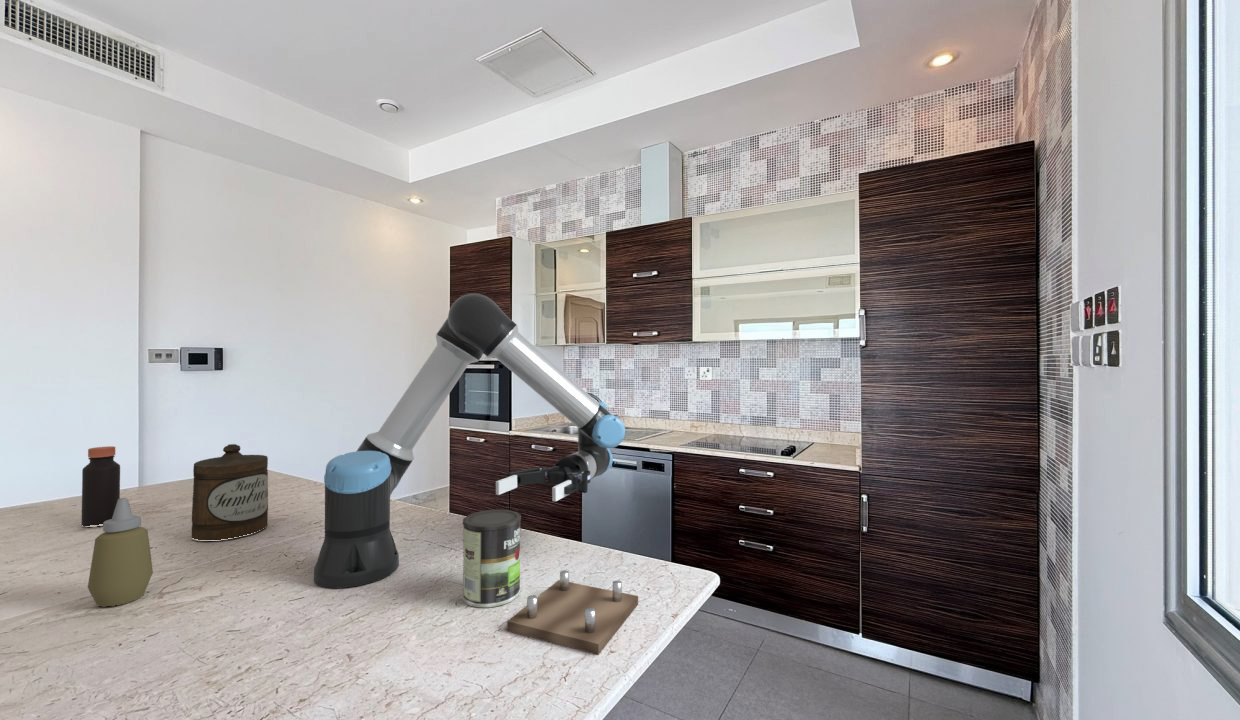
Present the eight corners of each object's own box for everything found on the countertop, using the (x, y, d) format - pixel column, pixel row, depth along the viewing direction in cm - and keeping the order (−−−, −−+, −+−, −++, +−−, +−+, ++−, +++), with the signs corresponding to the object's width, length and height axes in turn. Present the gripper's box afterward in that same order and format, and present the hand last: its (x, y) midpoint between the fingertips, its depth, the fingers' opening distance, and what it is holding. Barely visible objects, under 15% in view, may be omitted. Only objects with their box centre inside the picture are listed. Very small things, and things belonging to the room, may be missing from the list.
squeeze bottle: (163, 593, 88) (164, 495, 89) (104, 615, 81) (105, 507, 81) (136, 587, 91) (137, 491, 91) (76, 607, 83) (78, 502, 84)
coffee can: (529, 584, 92) (529, 510, 93) (505, 611, 82) (506, 528, 83) (479, 579, 95) (480, 507, 95) (451, 605, 84) (451, 524, 85)
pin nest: (507, 630, 76) (507, 602, 76) (558, 587, 91) (558, 563, 91) (598, 654, 70) (598, 623, 70) (638, 604, 85) (638, 578, 85)
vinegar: (73, 527, 124) (75, 449, 124) (105, 519, 131) (107, 445, 131) (95, 529, 123) (96, 450, 123) (126, 520, 130) (127, 446, 130)
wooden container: (218, 546, 112) (219, 450, 112) (176, 538, 116) (178, 447, 117) (281, 526, 126) (282, 441, 126) (242, 520, 131) (243, 438, 131)
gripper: (622, 489, 112) (579, 516, 93) (531, 480, 122) (475, 503, 103) (622, 457, 112) (579, 477, 93) (531, 451, 122) (475, 468, 103)
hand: (524, 491), depth 98 cm, fingers open, 13 cm apart
